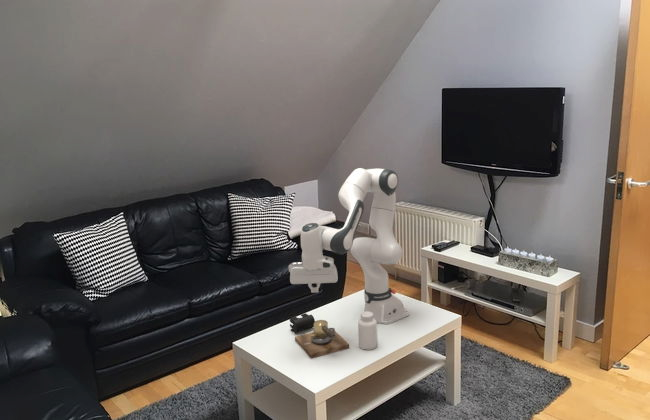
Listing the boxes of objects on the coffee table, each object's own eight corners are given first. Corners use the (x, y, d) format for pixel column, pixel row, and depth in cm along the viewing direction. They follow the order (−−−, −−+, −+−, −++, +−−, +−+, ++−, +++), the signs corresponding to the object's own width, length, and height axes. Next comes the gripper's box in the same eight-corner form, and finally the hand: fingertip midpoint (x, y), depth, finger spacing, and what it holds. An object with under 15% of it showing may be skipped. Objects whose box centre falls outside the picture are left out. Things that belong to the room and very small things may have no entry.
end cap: (297, 336, 256) (296, 322, 254) (289, 330, 262) (288, 317, 260) (315, 330, 261) (315, 316, 259) (307, 324, 267) (307, 311, 265)
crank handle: (308, 335, 247) (307, 318, 245) (328, 330, 250) (327, 313, 248) (323, 350, 233) (322, 332, 231) (344, 345, 237) (343, 327, 235)
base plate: (331, 331, 259) (331, 327, 258) (349, 348, 243) (349, 343, 242) (295, 340, 251) (294, 336, 251) (311, 358, 235) (310, 353, 235)
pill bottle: (358, 350, 241) (357, 317, 237) (359, 341, 248) (358, 309, 245) (376, 350, 240) (375, 318, 236) (377, 341, 247) (376, 310, 244)
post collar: (326, 333, 252) (326, 329, 252) (335, 342, 244) (335, 337, 244) (308, 338, 249) (307, 334, 248) (316, 347, 241) (316, 342, 240)
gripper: (287, 265, 234) (289, 296, 238) (336, 263, 233) (338, 294, 237) (288, 260, 240) (291, 290, 244) (336, 258, 239) (338, 288, 243)
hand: (314, 292), depth 240 cm, fingers closed
